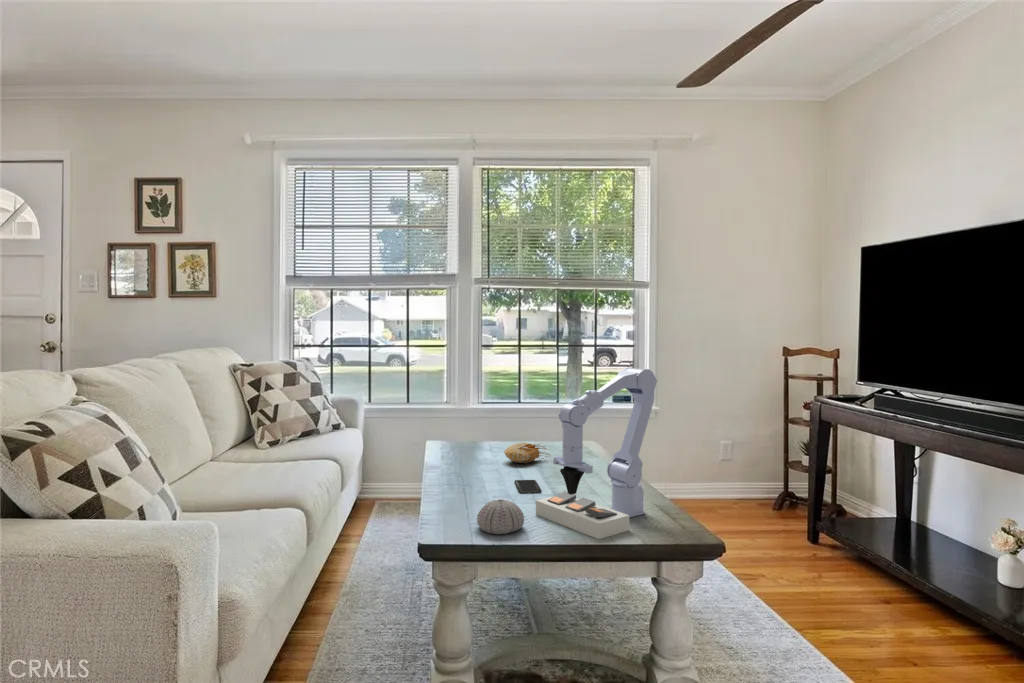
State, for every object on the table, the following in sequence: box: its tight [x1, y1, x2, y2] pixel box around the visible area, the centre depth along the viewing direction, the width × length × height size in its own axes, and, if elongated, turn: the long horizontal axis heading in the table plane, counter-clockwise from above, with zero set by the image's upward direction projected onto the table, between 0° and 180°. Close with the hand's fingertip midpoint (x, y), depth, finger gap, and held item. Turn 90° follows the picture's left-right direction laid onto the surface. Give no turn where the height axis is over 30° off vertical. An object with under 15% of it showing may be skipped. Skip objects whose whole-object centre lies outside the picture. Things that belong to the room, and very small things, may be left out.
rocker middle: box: [566, 497, 597, 512], centre depth 169 cm, size 7×5×2 cm
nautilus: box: [503, 442, 552, 464], centre depth 245 cm, size 8×22×15 cm
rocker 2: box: [586, 508, 617, 518], centre depth 162 cm, size 7×5×2 cm
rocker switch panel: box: [535, 496, 630, 540], centre depth 169 cm, size 12×26×4 cm, turn 37°
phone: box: [514, 479, 542, 494], centre depth 206 cm, size 8×1×15 cm
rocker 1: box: [548, 491, 577, 505], centre depth 175 cm, size 7×5×2 cm
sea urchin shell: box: [476, 498, 525, 535], centre depth 163 cm, size 13×14×8 cm
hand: (572, 493), depth 168 cm, fingers closed
